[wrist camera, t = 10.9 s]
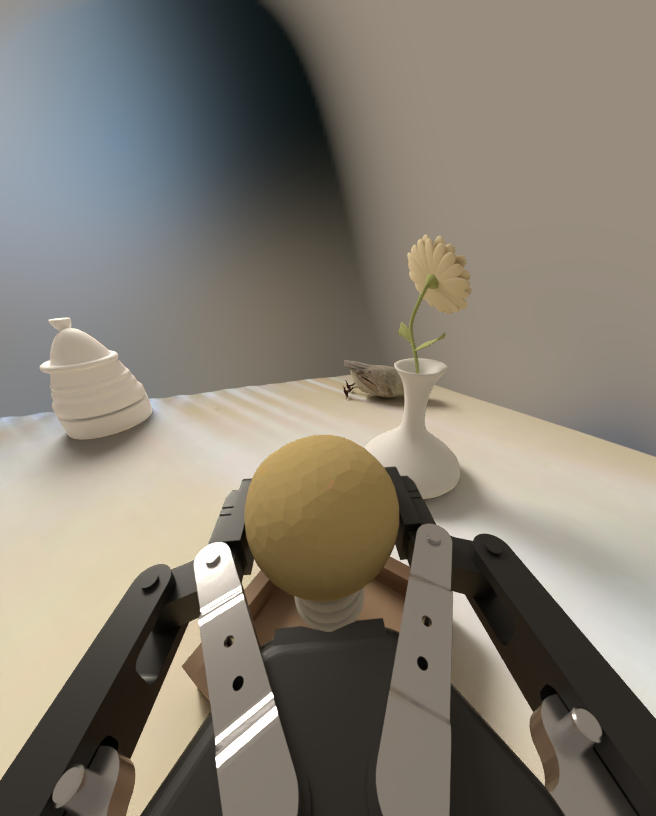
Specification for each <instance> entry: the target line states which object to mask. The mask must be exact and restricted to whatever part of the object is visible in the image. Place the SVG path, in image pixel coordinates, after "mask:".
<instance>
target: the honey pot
mask: <svg viewBox="0 0 656 816" xmlns="http://www.w3.org/2000/svg"><path fill="white" fill-rule="evenodd" d="M48 321H49V323H50V324H51V325H52V326H53V327H54V328H55V329H57V330H59V331H60V332H58V334H57V335H56V336H55V338H54V340H53V343H52V347H51V353H50V361H47V362H45V363H43V364H42V365H41V366H40V370H41V371H42V372H45V373H50V379H51V384H50V386H49V387H50V389H51V391H52V394H51V397H52V399H53V403H52V408H53V411H54V413H55V414H56V416H57V417H58V419H59V421H60V423H61V424H62V426H63V427H64V429H65V431H66V432H67V434H68V436H69V437H71V438H73V439H80V440H85V439H95V438H100V437H105V436H109V435H113V434H116V433H119V432H122V431H124V430H127V429H129V428H132V427H134V426H136V425H138V424H140V423H141V422H143V421H144V420H146V419H147V418H148V417H149V416H150V415H151V414H152V412H153V409H152V406H151V404H150V401H149V399H148V396H147V394H146V393H145V390H144V387H143V385H142V384H141V383H140V382H138V381H137V380H136V378H135V376H133V375H132V374H131V373H130V370H129V369H128V368H126V367H125V366H124V365H123V364H122V363H121V362H120V361H119V360H118V359H117V358H118V353H116V352H115V351H109V350H108V349H106V348H105V347H104V346H103V345H102V344H101V343H99V342H98V341H97V340H95V339H94V338H93V337H91V336H90V335H88V334H86V333H84V332H82V331H80V330H78V329H73V328H71V320H70V318H58V319H51V320H48Z"/></svg>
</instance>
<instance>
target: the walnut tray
mask: <svg viewBox="0 0 656 816" xmlns="http://www.w3.org/2000/svg"><path fill="white" fill-rule="evenodd" d="M410 570H411V569H410V567H409V566H407V565H405V564H403V563H401V562H399V561H397V560H395V559H394V558H392V557H389V559H388V561H387V562H386V564H385V566H384V567H383V569H382V570H381V571H380V572H379V573H378V575H377V576H376V577H375V578H374V579H373V580H372V581H371V582H370V583H369V584H367V585H366V586H365V587H364V602H363V607H362V610H361V612H360V614H359V616H358V617H357V619H356V620H355V621H357V620H367V619H377V618H383V621H384V625H385V627H387V628H391V629H393V630H396V631H398V632H400V627H401V621H402V615H403V609H404V603H405V598H406V592H407V586H408V580H409V575H410ZM244 592H245V595H246V599H247V602H248V605H249V608H250V612H251V615H252V618H253V622H254V625H255V628H256V631H257V634H258V637H259V640H260V644H261V646H262V645H263V644H264V643H266V642H268V641H269V640H271V639H274V632H275V629H278V628H288V627H298V626H303V627H308V628H310V627H309V626H308V625H307V624H306V623H305V622H304V621H303V619H302V618H301V616H300V615H299V613H298V610H297V607H296V603H295V597H294V596H293V595H291V594H288V593H286V592H285V591H283V590H282V589H280V588H279V587H277V586H276V585H275V584H274V583H272V582H271V581H270V580H269V579H268V578H267V577H266V575H265V574H264V573H263V572H262V570H261V571H260V572H259V573H258V574H257V576H256V577H255V578H254V579H253V580H252V582H251V583H250V584H249V585H248V586H247V588H246V589H245V590H244ZM355 621H354V622H355ZM182 667H183V669H184V670H185V671H186V673H187V674H188V675H189V677H190V678H191V679H192V681H193V682H194V683H195V685H196V686H197V687H198V689H199V690H200V691H201V692H202V694H203V695H204V696H205V697H206V699H207V700H208V701H209V702H210V699H209V691H208V684H207V677H206V670H205V663H204V656H203V649H202V642H201V644H200V645H199V646H198V647H197V648H196V650H195V651H194V652H193V653H192V655H191V656H190V657H189V658H188V659H187V661H186V662H185V663H184V664H183V665H182Z"/></svg>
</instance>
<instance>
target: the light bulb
mask: <svg viewBox="0 0 656 816" xmlns="http://www.w3.org/2000/svg"><path fill="white" fill-rule="evenodd" d="M244 519H245V530H246V537H247V541H248V544H249V547H250V550H251V552H252V555H253V557H254V559H255V561H256V563H257V565H258V566H259V568H260V569H261V570H262V572H263V573H264V574H265V575H266V577H267V578H268V579H269V580H270V581H271V582H272V583H274V584H275V585H276V586H277V587H279V588H280V589H282V590H283V591H285V592H286V593H288V594H291V595H293V596H294V597H295V603H296V607H297V610H298V613H299V615H300V616H301V618H302V619H303V621H304V622H305V623H306V624H307V625H308V626H309V627H310V628H312V629H317V630H321V631H326V632H332V631H334V630H336V629H339V628H341V627H343V626H345V625H348V624H350V623H352V622H354V621H355V620H356V619H357V617H358V616H359V614H360V612H361V610H362V607H363V602H364V587H365V586H366V585H367V584H369V583H370V582H371V581H372V580H373V579H374V578H375V577H376V576H377V575H378V573H379V572H380V571H381V570H382V569H383V567H384V566H385V564H386V562H387V561H388V559H389V557H390V555H391V552H392V550H393V548H394V545H395V543H396V538H397V534H398V528H399V502H398V498H397V495H396V491H395V487H394V484H393V482H392V480H391V478H390V476H389V475H388V473H387V471H386V470H385V468H384V467H383V465H382V464H381V463H380V462H379V461H378V460H377V459H376V458H375V457H374V456H373V455H372V454H371V453H369V452H368V451H367V450H366V449H365V448H363V447H361V446H359V445H358V444H356V443H354V442H353V441H351V440H348V439H345V438H343V437H338V436H333V435H314V436H310V437H306V438H302V439H298V440H296V441H294V442H291V443H289V444H287V445H285V446H283V447H282V448H280V449H279V450H277V451H276V452H274V453H273V454H271V455H270V456H269V457H268V458H267V459H265V460H264V461H263V462H262V463H261V465H260V466H259V467H258V469H257V470H256V472H255V474H254V476H253V478H252V481H251V483H250V485H249V489H248V493H247V498H246V504H245V516H244Z"/></svg>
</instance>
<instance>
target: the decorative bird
mask: <svg viewBox="0 0 656 816" xmlns="http://www.w3.org/2000/svg"><path fill="white" fill-rule="evenodd" d="M344 362H345V363H344V364H345V367H347V368H350V369H351V370H350V372H351V375H352V377H353V379H354V384H352V385H348V383H347V381H346V383H347V388H348V390H347V391H346V390H345V387H344V386H343V387H344V393H345V394H346V399H347V396H348V392H351V390H352V389H353V388H359V389H360V390H361V391H363V392H366V393H369V394H372V395H376V396H381V397H385V398H391V397H399V396H402V395H404V387H403V382H402V379H401V377H400V375H399V373H398V372H397V370H396V369H395V368H394V367H389V366H382V365H368V364H365V363H361V362H357V361H355V362H353V361H347V360H344ZM353 385H354V386H353ZM350 386H353V387H352V388H351V387H350Z"/></svg>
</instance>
